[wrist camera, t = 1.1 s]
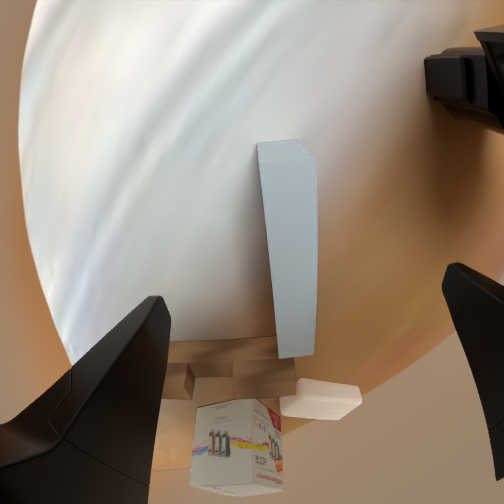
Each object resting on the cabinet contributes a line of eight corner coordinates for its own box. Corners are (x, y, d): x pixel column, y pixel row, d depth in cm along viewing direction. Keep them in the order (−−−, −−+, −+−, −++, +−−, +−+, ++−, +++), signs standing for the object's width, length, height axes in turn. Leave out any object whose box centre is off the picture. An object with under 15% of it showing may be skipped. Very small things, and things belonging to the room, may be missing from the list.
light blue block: (297, 139, 15) (315, 158, 11) (304, 306, 22) (313, 354, 18) (256, 143, 15) (258, 162, 11) (274, 309, 22) (278, 358, 18)
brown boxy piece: (290, 334, 24) (296, 381, 20) (291, 350, 25) (296, 395, 21) (143, 341, 25) (130, 383, 21) (152, 356, 26) (141, 396, 22)
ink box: (282, 417, 34) (287, 493, 24) (230, 427, 36) (228, 497, 26) (252, 393, 30) (252, 486, 20) (195, 406, 32) (186, 487, 22)
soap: (276, 396, 31) (278, 417, 28) (300, 374, 28) (303, 397, 26) (334, 403, 33) (338, 422, 30) (360, 383, 30) (365, 403, 28)
